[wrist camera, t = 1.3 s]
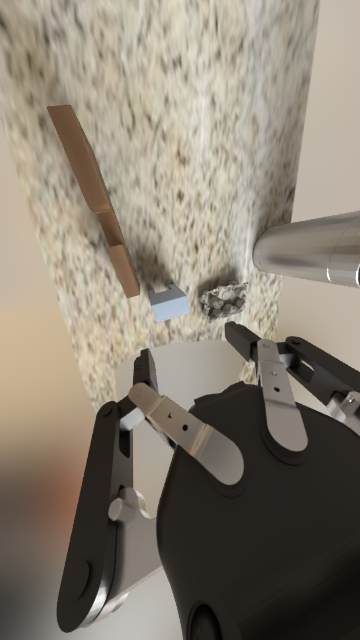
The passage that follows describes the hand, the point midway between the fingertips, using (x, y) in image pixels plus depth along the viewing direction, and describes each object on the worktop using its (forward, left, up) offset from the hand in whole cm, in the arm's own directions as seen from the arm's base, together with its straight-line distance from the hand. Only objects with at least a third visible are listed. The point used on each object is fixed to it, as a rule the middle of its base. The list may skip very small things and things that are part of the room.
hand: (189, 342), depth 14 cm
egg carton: (-13, +5, -18) cm, 23 cm away
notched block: (0, 0, -18) cm, 18 cm away
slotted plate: (+5, -12, -18) cm, 22 cm away
